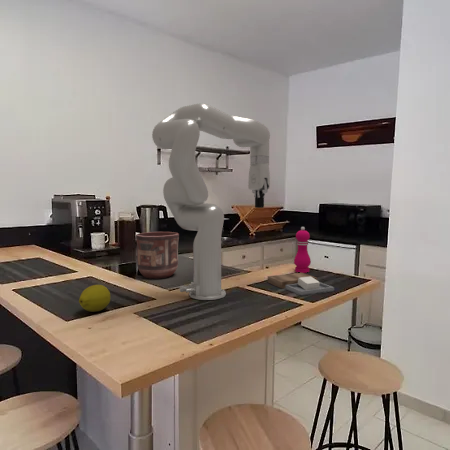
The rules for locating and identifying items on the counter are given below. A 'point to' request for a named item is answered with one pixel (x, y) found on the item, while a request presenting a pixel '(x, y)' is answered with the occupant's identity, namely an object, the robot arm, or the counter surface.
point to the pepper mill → (302, 252)
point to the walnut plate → (286, 279)
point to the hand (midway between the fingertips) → (259, 207)
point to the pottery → (157, 254)
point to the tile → (308, 283)
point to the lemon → (95, 298)
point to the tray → (302, 292)
